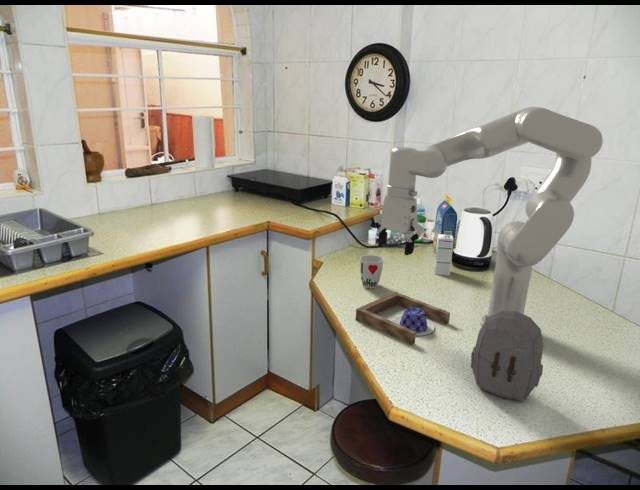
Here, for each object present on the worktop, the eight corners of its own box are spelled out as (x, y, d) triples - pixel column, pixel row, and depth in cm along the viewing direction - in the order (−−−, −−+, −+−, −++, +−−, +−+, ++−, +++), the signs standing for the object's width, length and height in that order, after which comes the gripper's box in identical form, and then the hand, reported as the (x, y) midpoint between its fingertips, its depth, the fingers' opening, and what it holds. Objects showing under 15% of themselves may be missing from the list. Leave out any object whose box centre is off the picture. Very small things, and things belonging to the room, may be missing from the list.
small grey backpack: (538, 394, 106) (554, 315, 100) (533, 414, 99) (550, 330, 93) (471, 373, 113) (482, 298, 107) (462, 391, 106) (473, 312, 100)
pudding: (419, 341, 128) (421, 324, 126) (384, 326, 136) (385, 310, 134) (442, 327, 136) (444, 311, 134) (407, 314, 144) (409, 298, 142)
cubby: (448, 323, 138) (450, 312, 137) (411, 345, 125) (412, 333, 124) (394, 301, 151) (395, 291, 150) (355, 319, 138) (356, 308, 137)
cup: (354, 286, 162) (356, 260, 159) (363, 279, 169) (365, 253, 166) (376, 291, 159) (378, 264, 156) (384, 284, 165) (386, 257, 162)
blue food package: (446, 249, 205) (452, 193, 197) (452, 258, 194) (460, 199, 186) (432, 249, 205) (438, 193, 198) (437, 258, 194) (444, 199, 186)
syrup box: (450, 276, 175) (454, 239, 170) (434, 274, 176) (438, 237, 171) (449, 270, 180) (453, 234, 176) (433, 269, 181) (437, 233, 177)
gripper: (434, 196, 127) (427, 255, 132) (385, 185, 139) (380, 240, 144) (418, 199, 122) (411, 260, 127) (368, 188, 134) (364, 244, 139)
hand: (395, 249), depth 136 cm, fingers open, 9 cm apart
